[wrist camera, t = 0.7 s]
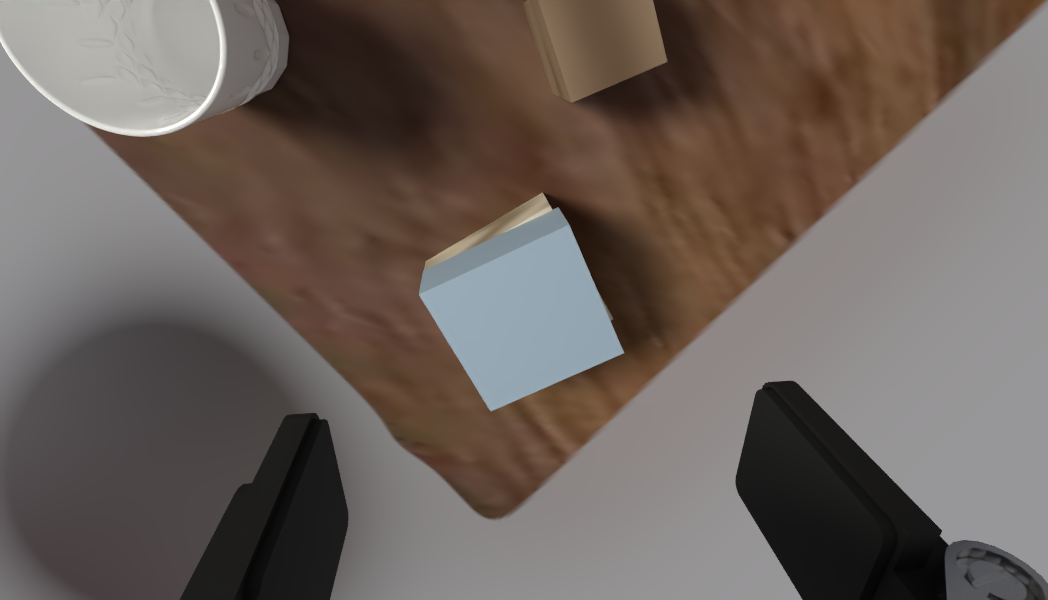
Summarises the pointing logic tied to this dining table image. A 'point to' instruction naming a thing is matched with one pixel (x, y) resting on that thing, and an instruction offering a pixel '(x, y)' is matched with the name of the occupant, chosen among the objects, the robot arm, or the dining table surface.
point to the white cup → (146, 57)
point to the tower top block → (521, 310)
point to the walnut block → (594, 42)
